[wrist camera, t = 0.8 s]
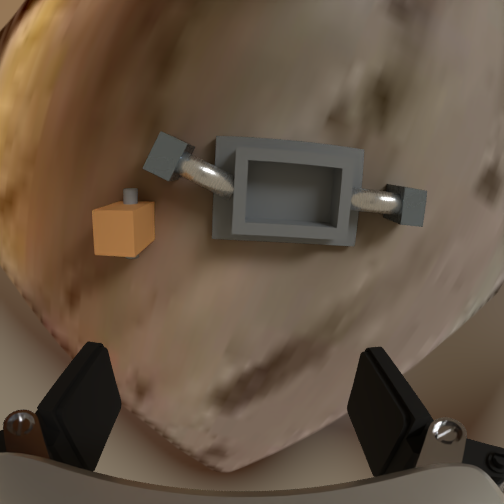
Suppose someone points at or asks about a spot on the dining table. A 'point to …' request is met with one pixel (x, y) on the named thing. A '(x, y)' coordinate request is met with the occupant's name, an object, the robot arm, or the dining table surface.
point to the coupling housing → (287, 191)
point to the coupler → (124, 226)
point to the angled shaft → (187, 166)
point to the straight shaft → (392, 203)
